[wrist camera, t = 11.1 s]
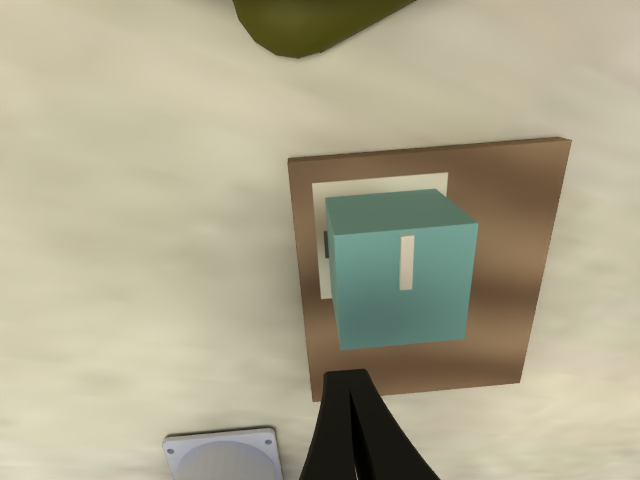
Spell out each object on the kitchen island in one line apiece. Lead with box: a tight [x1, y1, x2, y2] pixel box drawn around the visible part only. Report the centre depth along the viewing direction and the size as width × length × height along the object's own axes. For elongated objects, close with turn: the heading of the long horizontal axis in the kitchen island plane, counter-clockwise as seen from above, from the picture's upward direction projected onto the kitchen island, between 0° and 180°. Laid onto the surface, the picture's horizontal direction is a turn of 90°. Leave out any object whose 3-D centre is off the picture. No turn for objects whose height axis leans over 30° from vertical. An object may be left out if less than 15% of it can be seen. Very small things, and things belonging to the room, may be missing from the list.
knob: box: [325, 189, 479, 350], centre depth 17 cm, size 6×6×5 cm
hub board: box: [288, 137, 572, 402], centre depth 20 cm, size 16×14×4 cm
